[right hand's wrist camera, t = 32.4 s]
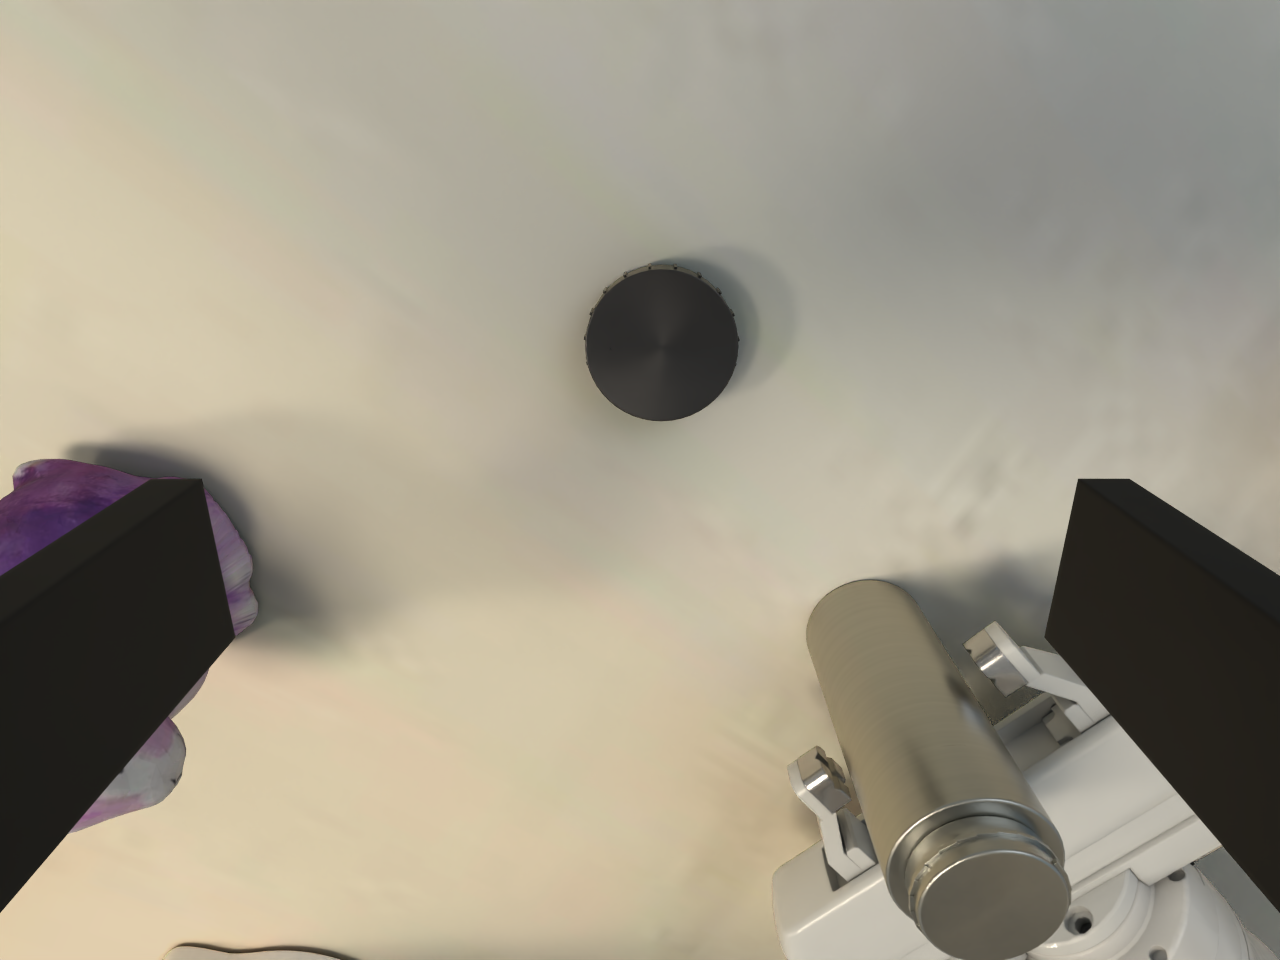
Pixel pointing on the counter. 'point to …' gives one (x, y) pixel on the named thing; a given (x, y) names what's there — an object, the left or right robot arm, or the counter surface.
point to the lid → (661, 343)
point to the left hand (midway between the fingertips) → (890, 705)
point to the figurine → (53, 507)
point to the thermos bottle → (935, 780)
